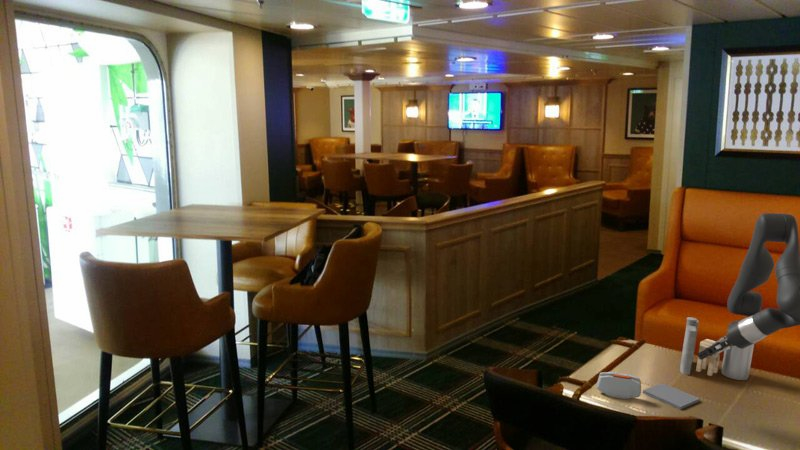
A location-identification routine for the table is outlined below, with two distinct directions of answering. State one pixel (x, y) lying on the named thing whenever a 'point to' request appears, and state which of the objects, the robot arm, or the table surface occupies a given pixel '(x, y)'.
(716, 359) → the beech stool
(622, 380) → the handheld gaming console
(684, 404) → the mat
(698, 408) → the table surface
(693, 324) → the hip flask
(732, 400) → the table surface
